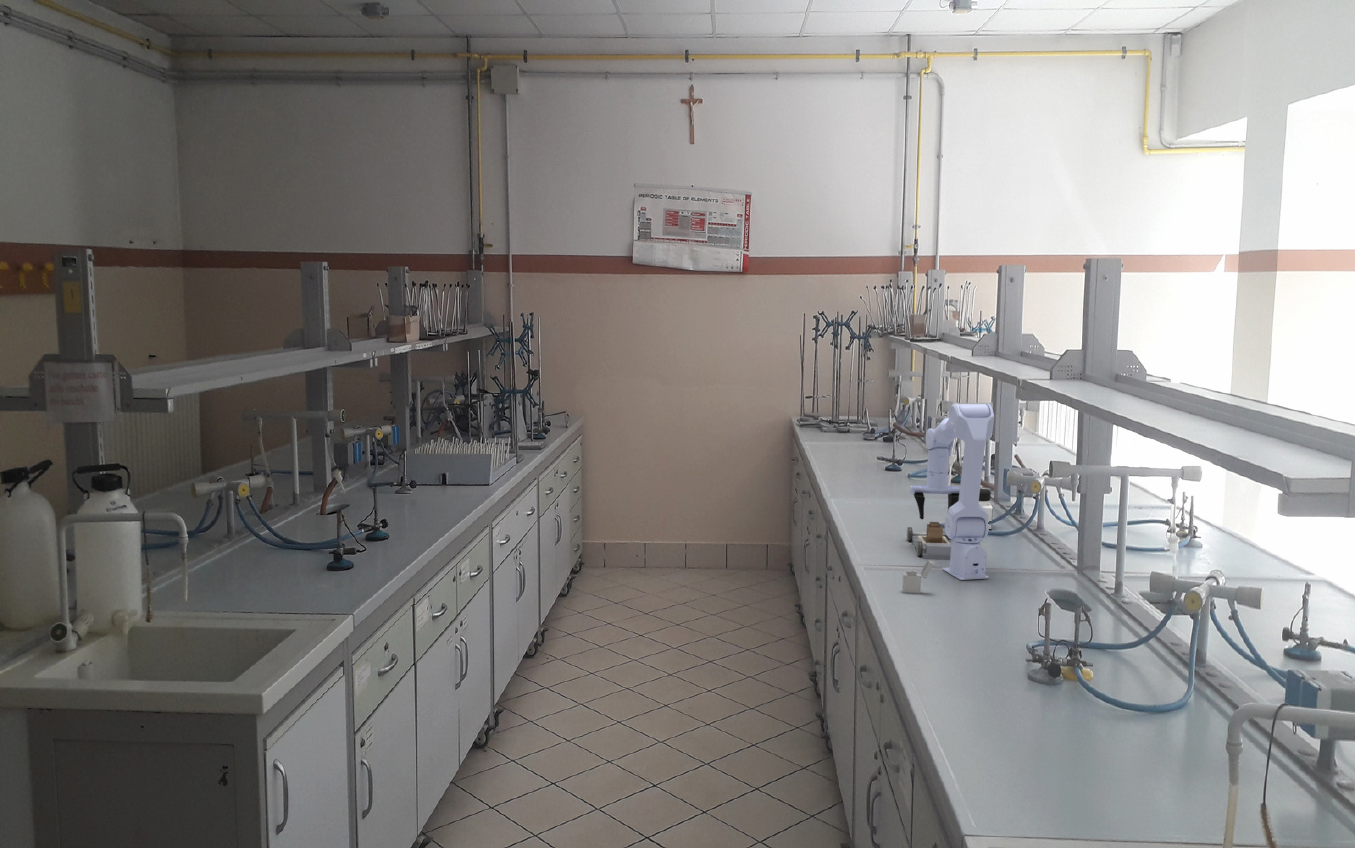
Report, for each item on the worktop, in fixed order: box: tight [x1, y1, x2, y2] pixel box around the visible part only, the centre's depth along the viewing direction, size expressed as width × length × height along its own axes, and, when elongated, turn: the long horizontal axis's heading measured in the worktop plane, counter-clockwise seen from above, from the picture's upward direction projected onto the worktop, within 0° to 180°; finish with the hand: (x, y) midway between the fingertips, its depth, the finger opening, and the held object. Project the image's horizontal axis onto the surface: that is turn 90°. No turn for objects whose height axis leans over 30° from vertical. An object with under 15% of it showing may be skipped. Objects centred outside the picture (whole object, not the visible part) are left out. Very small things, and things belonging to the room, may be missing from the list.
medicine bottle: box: [978, 487, 994, 529], centre depth 298 cm, size 7×7×12 cm
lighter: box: [901, 559, 935, 594], centre depth 232 cm, size 7×2×8 cm, turn 84°
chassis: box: [906, 526, 951, 560], centre depth 272 cm, size 22×12×4 cm, turn 176°
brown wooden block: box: [925, 521, 944, 543], centre depth 272 cm, size 4×4×6 cm
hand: (935, 518), depth 271 cm, fingers open, 7 cm apart
